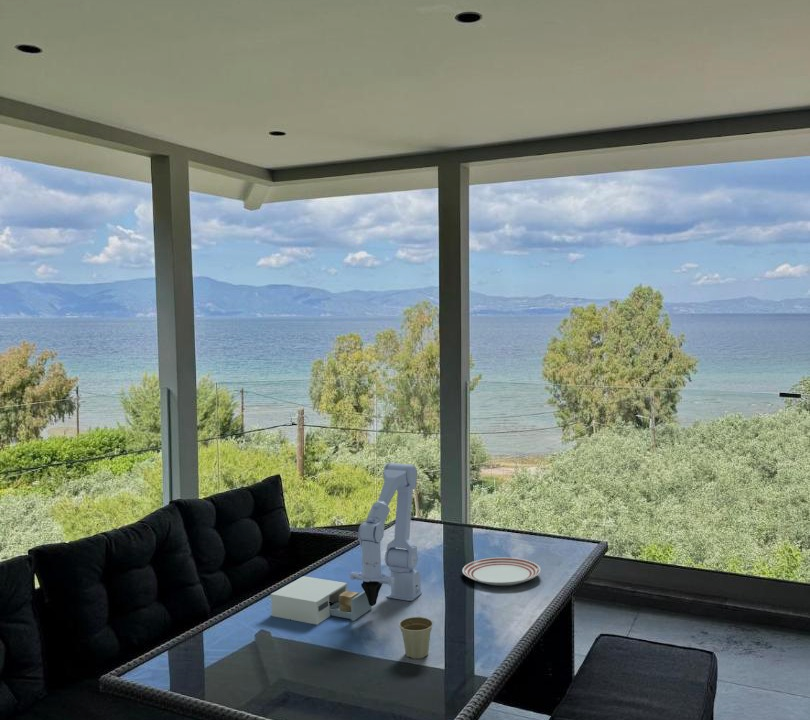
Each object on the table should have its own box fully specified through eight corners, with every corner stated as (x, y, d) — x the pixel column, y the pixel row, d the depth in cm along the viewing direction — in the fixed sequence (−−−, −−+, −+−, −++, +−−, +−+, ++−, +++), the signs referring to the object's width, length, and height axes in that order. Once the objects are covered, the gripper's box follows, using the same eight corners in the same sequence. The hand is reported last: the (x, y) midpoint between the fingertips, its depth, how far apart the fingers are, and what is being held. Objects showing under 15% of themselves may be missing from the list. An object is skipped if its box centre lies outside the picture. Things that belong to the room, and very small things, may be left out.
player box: (348, 604, 249) (347, 583, 249) (317, 624, 233) (317, 602, 233) (304, 596, 257) (303, 576, 257) (271, 615, 241) (270, 594, 241)
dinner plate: (452, 586, 264) (452, 576, 264) (474, 561, 290) (474, 553, 290) (531, 595, 254) (531, 585, 254) (547, 569, 280) (547, 560, 280)
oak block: (358, 608, 244) (358, 592, 244) (351, 613, 240) (351, 597, 240) (346, 606, 246) (346, 590, 246) (339, 610, 242) (339, 595, 242)
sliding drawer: (371, 608, 245) (370, 588, 245) (353, 620, 235) (353, 599, 235) (343, 603, 250) (342, 583, 249) (324, 615, 240) (324, 594, 240)
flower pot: (409, 664, 205) (408, 633, 205) (393, 651, 214) (392, 621, 213) (440, 657, 210) (439, 625, 209) (423, 644, 218) (422, 614, 217)
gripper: (344, 562, 237) (345, 605, 238) (386, 568, 231) (387, 612, 231) (356, 555, 243) (357, 597, 244) (397, 561, 237) (398, 604, 238)
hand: (372, 604), depth 238 cm, fingers closed
